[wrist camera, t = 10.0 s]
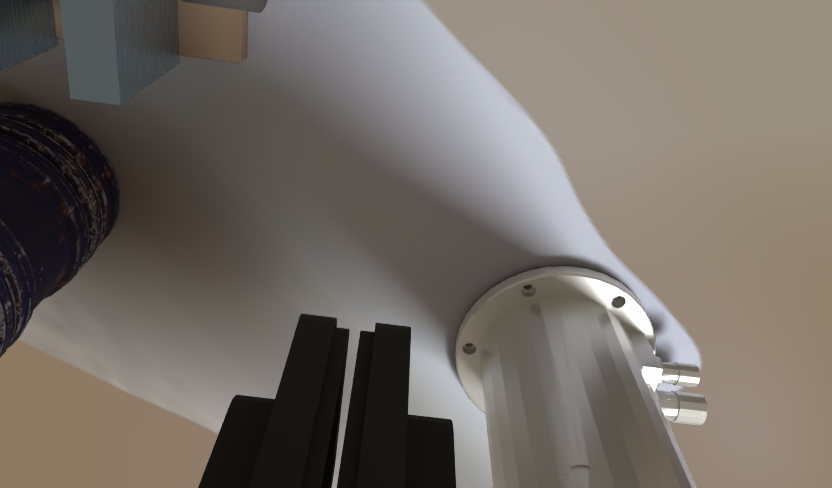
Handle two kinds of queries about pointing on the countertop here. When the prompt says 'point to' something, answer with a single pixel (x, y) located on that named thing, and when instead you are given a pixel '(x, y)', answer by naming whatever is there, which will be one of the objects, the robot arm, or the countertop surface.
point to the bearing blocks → (96, 42)
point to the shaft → (234, 4)
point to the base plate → (202, 31)
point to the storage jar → (47, 208)
